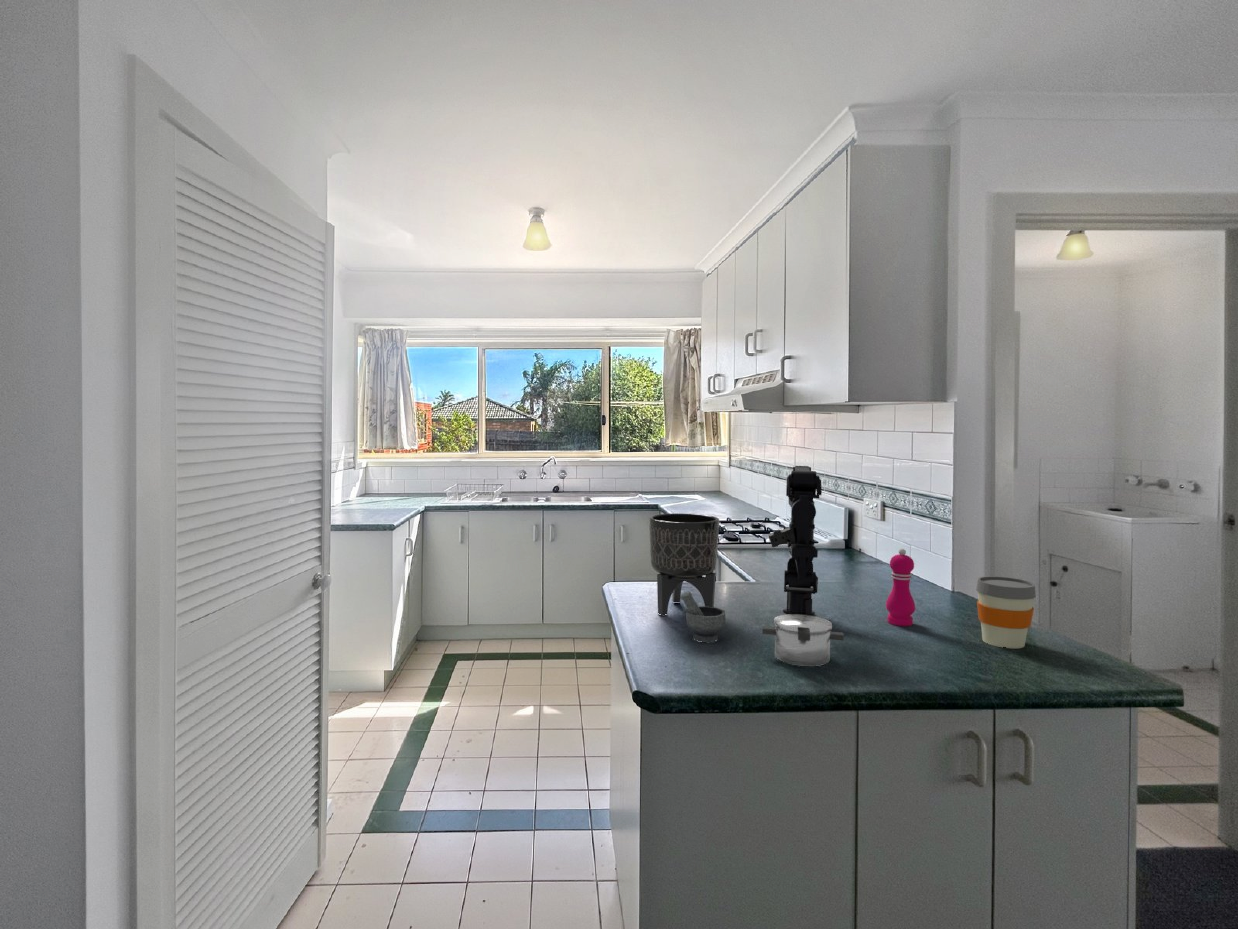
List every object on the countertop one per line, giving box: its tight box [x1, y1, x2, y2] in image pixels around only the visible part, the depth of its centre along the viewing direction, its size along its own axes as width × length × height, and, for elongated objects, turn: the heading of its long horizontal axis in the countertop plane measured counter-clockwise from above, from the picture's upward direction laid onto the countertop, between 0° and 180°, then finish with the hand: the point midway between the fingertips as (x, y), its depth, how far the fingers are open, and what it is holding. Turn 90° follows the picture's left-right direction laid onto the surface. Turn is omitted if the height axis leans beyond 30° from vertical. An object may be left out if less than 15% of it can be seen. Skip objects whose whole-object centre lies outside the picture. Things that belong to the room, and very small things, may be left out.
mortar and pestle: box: [680, 590, 726, 643], centre depth 162 cm, size 11×9×12 cm
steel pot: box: [761, 625, 845, 666], centre depth 150 cm, size 12×18×7 cm
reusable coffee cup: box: [975, 575, 1037, 649], centre depth 162 cm, size 13×13×15 cm
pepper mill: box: [885, 548, 916, 627], centre depth 178 cm, size 7×7×20 cm
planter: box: [648, 512, 720, 615], centre depth 187 cm, size 20×20×26 cm
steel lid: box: [773, 613, 833, 641], centre depth 148 cm, size 18×13×1 cm
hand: (800, 579), depth 172 cm, fingers closed
